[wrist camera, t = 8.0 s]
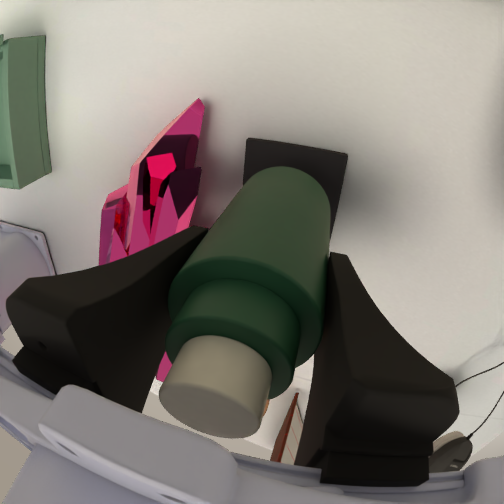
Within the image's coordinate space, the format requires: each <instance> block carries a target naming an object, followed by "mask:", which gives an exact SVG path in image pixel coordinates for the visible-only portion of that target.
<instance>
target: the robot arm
mask: <svg viewBox="0 0 504 504" xmlns="http://www.w3.org/2000/svg"><path fill="white" fill-rule="evenodd" d="M207 233H208V228H204V227H198V226H191V227H188V228H186V229H184V230H182V231H180V232H178V233H176V234H174V235H172V236H170V237H168V238H166V239H164V240H162V241H160V242H158V243H156V244H154V245H152V246H149V247H147V248H145V249H143V250H141V251H138V252H136V253H134V254H132V255H129V256H127V257H124V258H121V259H119V260H116V261H113V262H110V263H107V264H104V265H100V266H96V267H93V268H89V269H85V270H81V271H76V272H72V273H66V274H60V275H56V274H55V271H54V268H53V265H52V261H51V258H50V254H49V251H48V247H47V244H46V240H45V236H44V235H43V233H41V232H37V231H34V230H30V229H26V228H22V227H19V226H15V225H11V224H8V223H4V222H1V221H0V426H1V427H2V428H3V429H5V430H6V431H7V432H8V433H9V434H10V435H12V436H13V437H14V438H15V439H17V440H18V441H19V442H20V443H22V444H23V445H24V446H25V447H27V448H28V449H29V450H31V451H32V452H31V453H30V455H29V457H28V458H27V460H26V462H25V463H24V465H23V467H22V469H21V470H20V472H19V474H18V475H17V477H16V479H15V481H14V482H13V484H12V487H11V488H10V490H9V491H8V493H7V495H6V497H5V499H4V501H3V502H2V504H504V456H499V457H492V458H485V459H481V460H479V461H476V462H474V463H473V464H471V465H469V466H468V467H467V468H466V469H465V470H463V471H452V472H439V473H429V456H431V455H432V454H433V452H434V450H433V442H434V441H435V440H436V439H437V438H438V437H439V436H440V435H442V434H443V433H444V432H445V431H446V430H447V429H448V428H449V427H450V426H451V425H452V424H453V423H454V422H455V420H456V419H457V417H458V415H459V404H458V397H457V392H456V388H455V384H454V381H453V379H452V378H451V377H449V376H448V375H447V374H445V373H444V372H443V371H441V370H440V369H438V368H437V367H436V366H434V365H433V364H432V363H430V362H429V361H428V360H427V359H426V358H424V357H423V356H422V355H421V354H420V353H419V352H417V351H416V350H415V349H414V348H413V347H412V346H411V345H410V344H409V343H408V342H407V341H406V340H405V339H404V338H403V337H402V336H401V335H400V334H399V333H398V332H397V331H396V330H395V329H394V327H393V326H392V325H391V324H390V323H389V322H388V320H387V319H386V318H385V317H384V315H383V314H382V313H381V312H380V310H379V309H378V307H377V306H376V305H375V303H374V302H373V300H372V299H371V297H370V296H369V294H368V292H367V291H366V289H365V287H364V286H363V284H362V282H361V280H360V279H359V277H358V275H357V273H356V271H355V269H354V267H353V266H352V264H351V262H350V260H349V258H348V256H347V255H345V254H340V253H335V252H330V255H329V259H328V274H327V293H326V306H325V318H324V329H323V336H322V340H321V343H320V345H319V347H318V349H317V350H316V351H315V353H314V368H313V377H312V383H311V389H310V394H309V400H308V405H307V410H306V415H305V419H304V424H303V429H302V433H301V437H300V442H299V446H298V450H297V454H296V457H295V461H294V465H291V464H285V463H279V462H274V461H269V460H264V459H259V458H255V457H250V456H246V455H242V454H237V453H233V452H230V451H229V450H228V449H226V448H224V447H223V446H221V445H219V444H218V443H216V442H215V441H213V440H211V439H209V438H206V437H203V436H201V435H199V434H196V433H194V432H191V431H189V430H186V429H183V428H180V427H177V426H174V425H171V424H168V423H166V422H163V421H160V420H157V419H155V418H152V417H149V416H147V415H144V414H142V410H143V408H144V405H145V402H146V399H147V396H148V393H149V391H150V388H151V385H152V383H153V380H154V378H155V375H156V373H157V370H158V368H159V365H160V363H161V360H162V358H163V356H164V354H165V351H166V350H165V336H166V333H167V331H168V329H169V328H170V326H171V324H172V320H171V318H170V315H169V310H168V293H169V289H170V286H171V283H172V282H173V280H174V278H175V277H176V275H177V274H178V272H179V271H180V270H181V268H182V267H183V265H184V264H185V263H186V261H187V260H188V259H189V257H190V256H191V254H192V253H193V252H194V250H195V249H196V248H197V246H198V245H199V244H200V242H201V241H202V240H203V238H204V237H205V235H206V234H207ZM11 324H12V325H13V327H14V329H15V331H16V333H17V335H18V336H19V338H20V340H21V342H22V344H23V345H24V347H22V349H21V350H20V351H19V352H18V353H17V355H16V356H14V355H12V354H10V353H9V352H8V351H6V350H5V349H3V348H2V346H1V343H2V342H3V341H4V340H5V338H4V337H3V336H2V334H3V333H4V332H5V331H6V330H7V329H8V327H9V326H10V325H11Z"/></svg>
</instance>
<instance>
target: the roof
mask: <svg viewBox="0 0 504 504" xmlns="http://www.w3.org/2000/svg"><path fill="white" fill-rule="evenodd" d="M298 394H299V393H296V394H295V396H294V399H293V401H292V404H291V406H290V408H289V411H288V413H287V416H286V418H285V420H284V423H283V425H282V427H281V430H280V432H279V434H278V437H277V439H276V442H275V445H274V449H273V452H272V455H271V459H270V461H274V462H279V463H285V464H291V465H294V461H295V457H296V454H297V450H298V446H299V442H300V437H301V433H302V429H303V424H302V420H301V417H300V414H299V411H298V407H297V404H296V402H297V398H298Z"/></svg>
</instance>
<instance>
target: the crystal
mask: <svg viewBox="0 0 504 504" xmlns="http://www.w3.org/2000/svg"><path fill="white" fill-rule="evenodd" d="M204 109H205V106H204V105H203V103H202V102H201V100H200V99H199V98H198V99H197V100H196V101H194V102H193V103H192V104H191V105H190V106H189V107H187V108H186V109H185V110H184V111H183V112H182V113H181V114H179V115H178V116H177V117H176V118H175V119H174V120H173V121H172V122H170V123H169V124H168V125H167V126H166V127H165V128H164V129H163V130H162V131H161V132H160V133H159V134H158V135H157V136H156V137H155V138H154V139H153V140H152V142H151V143H150V144H149V145H148V147H147V148H146V149H145V150H144V151H143V153H142V154H141V155H140V156H139V158H138V159H137V160H136V162H135V163H134V164H133V165H132V167H131V172H130V178H129V184H127V185H125V186H123V187H121V188H119V189H118V190H116V191H114V192H112V193H110V194H108V197H107V199H106V201H105V204H104V206H103V209H102V215H101V229H100V247H99V266H100V265H104V264H107V263H110V262H113V261H116V260H119V259H121V258H124V257H127V256H129V255H132V254H134V253H136V252H138V251H141V250H143V249H145V248H147V247H149V246H152V245H154V244H156V243H158V242H160V241H162V240H164V239H166V238H168V237H170V236H172V235H174V234H176V233H178V232H180V231H182V230H184V229H186V228H188V227H189V223H190V220H191V216H192V213H193V209H194V206H195V202H196V199H197V195H198V190H199V183H200V177H201V171H202V169H201V167H196V168H194V166H195V160H196V154H197V148H198V142H199V136H200V131H201V125H202V120H203V114H204ZM171 366H172V364H171V362H170V360H169V358H168V356H167V354H166V351H165V354H164V356H163V358H162V360H161V363H160V365H159V368H158V370H157V373H156V375H155V376H156V379H157V380H159V381H162V382H164V380H165V378H166V376H167V374H168V372H169V370H170V368H171Z"/></svg>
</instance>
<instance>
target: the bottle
mask: <svg viewBox="0 0 504 504" xmlns="http://www.w3.org/2000/svg"><path fill="white" fill-rule="evenodd" d="M329 241H330V204H329V200H328V197H327V195H326V193H325V191H324V189H323V188H322V186H321V185H320V184H319V183H318V182H317V181H316V180H315V179H314V178H313V177H311V176H310V175H308V174H307V173H305V172H303V171H301V170H298V169H295V168H291V167H283V166H280V167H271V168H267V169H264V170H262V171H260V172H258V173H256V174H255V175H253V176H252V177H251V178H250V179H249V180H248V181H247V182H246V183H245V184H244V186H243V187H242V188H241V189H240V191H239V192H238V193H237V195H236V196H235V197H234V198H233V200H232V201H231V202H230V204H229V205H228V206H227V208H226V209H225V210H224V212H223V213H222V214H221V215H220V217H219V218H218V219H217V221H216V222H215V223H214V225H213V226H212V227H211V229H210V230H209V231H208V233H207V234H206V235H205V237H204V238H203V240H202V241H201V242H200V244H199V245H198V246H197V248H196V249H195V250H194V252H193V253H192V254H191V256H190V257H189V259H188V260H187V261H186V263H185V264H184V265H183V267H182V268H181V270H180V271H179V272H178V274H177V275H176V277H175V278H174V280H173V282H172V283H171V286H170V289H169V293H168V310H169V315H170V318H171V320H172V324H171V326H170V328H169V329H168V331H167V333H166V336H165V350H166V354H167V356H168V358H169V360H170V362H171V364H172V366H171V368H170V370H169V372H168V374H167V376H166V378H165V380H164V382H163V384H162V386H161V387H160V390H159V399H160V402H161V404H162V405H163V407H164V408H165V409H166V410H167V411H168V412H169V413H170V414H171V415H172V416H173V417H174V418H176V419H177V420H179V421H180V422H182V423H183V424H185V425H187V426H189V427H191V428H193V429H195V430H197V431H200V432H203V433H206V434H209V435H213V436H217V437H223V438H244V437H248V436H251V435H253V434H254V433H256V432H257V430H258V429H259V428H260V425H261V421H262V418H263V414H264V410H265V406H266V402H267V400H269V399H272V398H275V397H277V396H279V395H280V394H282V393H283V392H284V391H285V390H287V388H288V387H289V386H290V384H291V383H292V380H293V377H294V371H295V368H296V367H298V366H300V365H302V364H303V363H305V362H306V361H307V360H308V359H309V358H310V357H311V356H312V355H313V354H314V353H315V351H316V350H317V349H318V347H319V345H320V343H321V340H322V336H323V329H324V318H325V306H326V293H327V274H328V259H329Z"/></svg>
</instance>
